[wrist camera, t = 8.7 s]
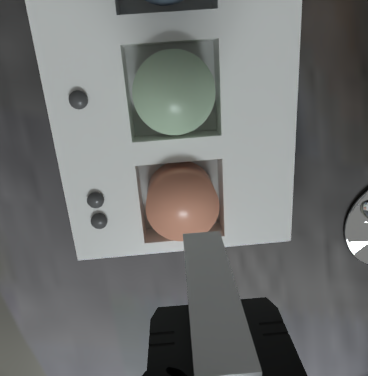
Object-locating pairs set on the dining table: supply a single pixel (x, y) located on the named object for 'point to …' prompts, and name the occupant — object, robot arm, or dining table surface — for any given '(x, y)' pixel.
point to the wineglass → (358, 229)
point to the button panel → (161, 143)
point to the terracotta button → (181, 200)
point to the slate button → (164, 2)
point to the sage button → (173, 92)
